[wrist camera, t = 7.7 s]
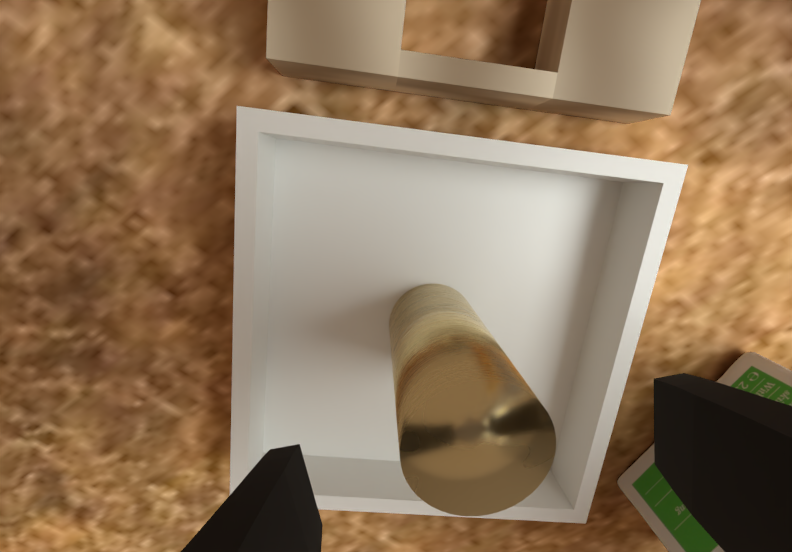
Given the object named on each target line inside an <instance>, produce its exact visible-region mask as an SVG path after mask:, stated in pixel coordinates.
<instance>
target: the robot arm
mask: <svg viewBox="0 0 792 552" xmlns="http://www.w3.org/2000/svg"><path fill="white" fill-rule="evenodd" d="M654 462H655V466H656V467H657V468H658V470H659V471H660V473H661V474H662V475H663V477H664V478H665V480H666V481H667V482H668V484H669V485H670V487H671V488H672V490H673V491H674V492H675V494H676V495H677V496H678V498H679V499H680V500H681V502H682V503H683V504H684V505H685V507H686V508H687V509H688V511H689V512H690V513H691V515H692V516H693V517H694V518H695V519H696V520H697V522H698V523H699V524H700V525H701V526H702V527H703V528H704V529H705V531H706V532H707V533H708V534H709V535H710V536H711V537H712V538H713V539H714V541H715V542H716V543H717V544H718V545H719V546H720V547H721V548H722V549H723V551H724V552H792V406H790V405H787V404H784V403H780V402H777V401H774V400H771V399H768V398H765V397H762V396H759V395H756V394H753V393H750V392H747V391H744V390H740V389H737V388H734V387H731V386H728V385H724V384H721V383H718V382H715V381H711V380H708V379H704V378H701V377H697V376H693V375H689V374H685V373H683V374H677V375H672V376H666V377H661V378H656V379H654ZM321 541H322V522H321V519H320V515H319V511H318V508H317V504H316V501H315V497H314V494H313V490H312V486H311V483H310V479H309V476H308V472H307V469H306V465H305V462H304V458H303V454H302V451H301V447H300V444H297V445H291V446H286V447H280V448H275V449H270V450H269V451H268V452H267V453H266V454H265V455H264V456H263V457H262V458H261V460H260V461H259V462H258V463H257V464H256V465H255V466H254V468H253V469H252V470H251V471H250V472H249V473H248V475H247V476H246V477H245V478H244V479H243V481H242V482H241V483H240V484H239V485H238V486H237V488H236V489H235V490H234V491H233V492H232V494H231V495H230V496H229V497H228V498H227V499H226V501H225V502H224V503H223V504H222V505H221V506H220V508H219V509H218V510H217V511H216V512H215V513H214V514H213V516H212V517H211V518H210V519H209V520H208V521H207V523H206V524H205V525H204V526H203V527H202V528H201V530H200V531H199V532H198V533H197V534H196V535H195V536H194V538H193V539H192V540H191V541H190V542H189V543H188V544H187V545H186V547H185V548H184V549H183V550H182V551H181V552H321Z"/></svg>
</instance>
